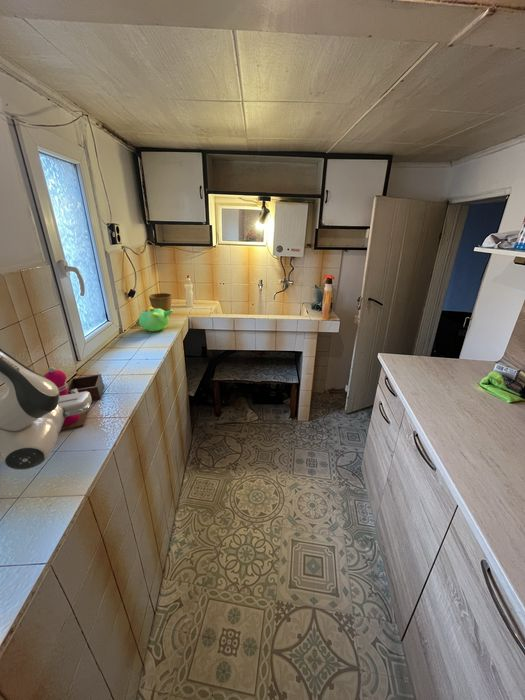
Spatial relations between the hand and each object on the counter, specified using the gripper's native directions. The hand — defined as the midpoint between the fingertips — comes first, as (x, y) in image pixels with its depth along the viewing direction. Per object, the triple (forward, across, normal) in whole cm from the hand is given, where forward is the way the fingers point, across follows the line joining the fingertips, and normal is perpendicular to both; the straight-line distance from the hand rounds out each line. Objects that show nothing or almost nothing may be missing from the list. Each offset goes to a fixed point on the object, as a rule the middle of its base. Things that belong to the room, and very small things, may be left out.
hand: (58, 393), depth 89 cm
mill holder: (+17, -3, +12) cm, 21 cm away
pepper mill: (+1, 0, +11) cm, 11 cm away
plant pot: (+109, -37, +12) cm, 116 cm away
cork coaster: (+1, 0, +12) cm, 12 cm away
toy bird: (+84, -31, +12) cm, 90 cm away
